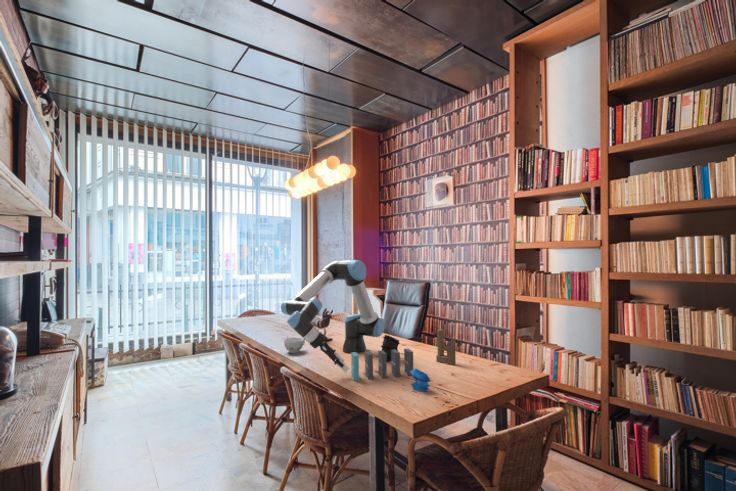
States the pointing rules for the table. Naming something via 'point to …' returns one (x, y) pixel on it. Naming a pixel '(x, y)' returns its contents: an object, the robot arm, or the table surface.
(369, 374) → the domino
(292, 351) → the teacup
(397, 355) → the domino
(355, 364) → the teal domino
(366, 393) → the table surface
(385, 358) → the domino
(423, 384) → the crystal
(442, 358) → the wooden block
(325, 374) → the table surface
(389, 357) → the black angular block
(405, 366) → the domino
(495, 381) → the table surface
